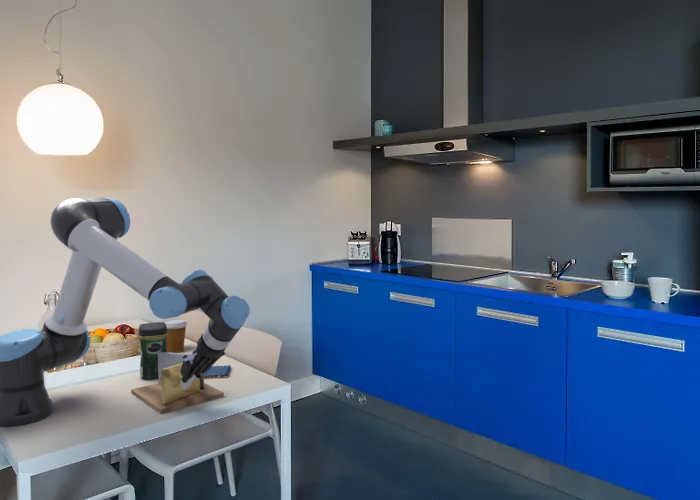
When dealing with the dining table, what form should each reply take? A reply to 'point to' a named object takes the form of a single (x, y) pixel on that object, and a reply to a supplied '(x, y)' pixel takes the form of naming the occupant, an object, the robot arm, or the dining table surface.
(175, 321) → the disposable coffee cup
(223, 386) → the dining table surface
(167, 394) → the panel
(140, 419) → the dining table surface
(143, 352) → the coffee jar
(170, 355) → the steel leaf and pin
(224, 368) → the woven mat
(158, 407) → the walnut board
